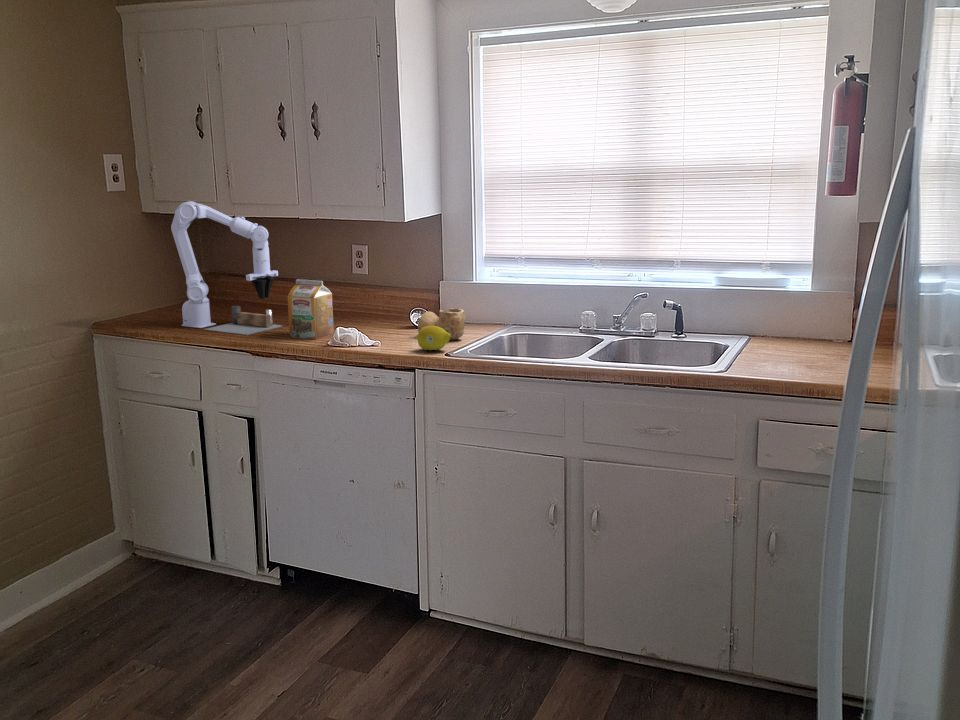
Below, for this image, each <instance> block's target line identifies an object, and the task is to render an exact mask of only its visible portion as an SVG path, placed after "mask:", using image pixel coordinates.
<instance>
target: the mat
mask: <svg viewBox="0 0 960 720" xmlns="http://www.w3.org/2000/svg"><path fill="white" fill-rule="evenodd" d="M281 327H283V325H281V324H273V326H269V327H262V326H253V325H245V324H233V323H232V322H230V323H224V324H221V325H216V326H210V327H208V328H207V327H206V328H203V330H204V331H210V332H215V333H216V332H218V333H226V334H234V335H242V336H251V335H254V334H258V333H261V332H267V331H270V330H273V329H274V330H275V329H277V328H281Z"/></svg>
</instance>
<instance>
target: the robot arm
mask: <svg viewBox="0 0 960 720" xmlns="http://www.w3.org/2000/svg"><path fill="white" fill-rule="evenodd" d="M205 218H206V219H210V220H212V221H215V222H218V223H220V224H222V225H225V226H228V227H229V229H230V231H231V232H232V233H234V234H236V235H239V236H241V237H243V238H245V239H248V240H249V239H251V241H252V258H253V259H252V261H253V273H249V274H245V278H246V279H245V281H248V282H251V283H252V285H253V286H254V289H255V291H256V293H257V297H258V299H260V300H263V299H269V297H270V292H271V288H272V285H273V283H274V281H275V278H274V277H278V276H279V270H276V269H275V270H274V269H273V270H271V264H270V263H271V261H270V260H271V259H270V248H269V240H268V238H269V231H268V229H267V228H266V227H264V226H263V225H259V224H258V223H256V222H254V223H253V222H251V221H249V220H246V217H245V216H235V217H232V216H229V215H227V214H224V213H223V212H221V211H218V210H216V209H215V208H213V207H210V206H208V205H205V204H203V203H197V202H196V201H194V200H187V201H185V202H182V203H180V204H179V206H178V207H177V208H176V209H175V210H174V216H173V218H172V222H171V225H170V226H171V227H170V229H171V234H172V236H173V239H174V243H175V246H176V249H177V252H178V256H179V259H180V263H181V265H182V268H183V272H184V275H185V284H186V288H187V289H186V296H187V298H188V300H186V301H184V303H183V304H182V308H181V312H182V314H181V315H182V324H181V326H182V327H188V328H195V329H196V328H197V329H202V328H203V329H204V328H207V327H213V326H215V325H216V326H217V322H216V323H215V322H212V321H211V309H210V306H211V305H210V298H208V297H207V295H208V294H209V290H210V289H209V286H208V284H207V283H206V282H205V281H204V279H203V276H202V274H201V272H200V268H199V266H198V263H197V260H196V256H195V253H194V250H193V249H194V248H193V247H192V243H191V240H190V237H189V233H188V229H189V227H190V225H191V224H192V222H193V221H195V219H205Z"/></svg>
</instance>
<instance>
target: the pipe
mask: <svg viewBox="0 0 960 720" xmlns="http://www.w3.org/2000/svg"><path fill="white" fill-rule="evenodd" d="M438 313H439V316H438V315H437V314H436V313H435V312H433V311H430V310H429V311H425V312H423V313H422V314H421V316H420V318H419V319H418V323H417V332H418V333H419V331H420V330H421V329H422V328H423V327H426V326H438V327H440V328H442V329H444V330H445V331H446V332H448V333H449V334H450V340H449V341H455V340H457V339H459V338H462V337H463V336H464V331H465V325H466V315H465V309H462V308H452V307H451V308H448V309H446V310H443V309H439V312H438Z"/></svg>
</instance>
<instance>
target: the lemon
mask: <svg viewBox="0 0 960 720" xmlns="http://www.w3.org/2000/svg"><path fill="white" fill-rule="evenodd" d="M416 340H417V343H418V346H419V347H420V348H421V349H422V350H424V351H426V350H436V351H438V350H441V349H443V348H444V347H445V346H446V344H448V343H449V342H450V341H451V340H450V334H449V333H448V332H446V331H445V330H444V329H442V328H440V327H438V326H426V327H423V328H422V329H421V330H420V331H419V332H418V334H417V335H416Z"/></svg>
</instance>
